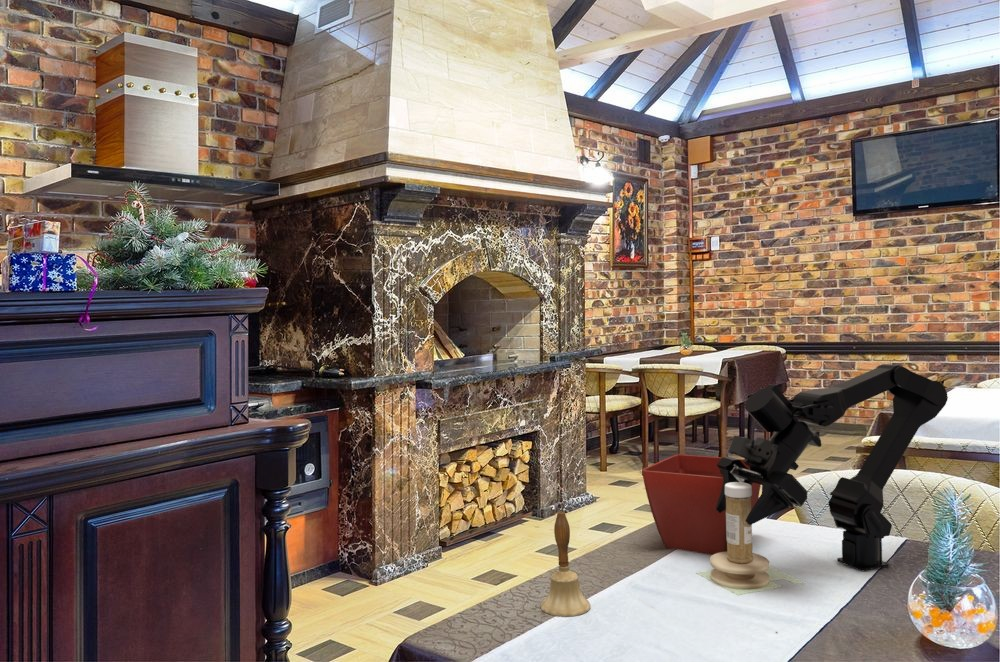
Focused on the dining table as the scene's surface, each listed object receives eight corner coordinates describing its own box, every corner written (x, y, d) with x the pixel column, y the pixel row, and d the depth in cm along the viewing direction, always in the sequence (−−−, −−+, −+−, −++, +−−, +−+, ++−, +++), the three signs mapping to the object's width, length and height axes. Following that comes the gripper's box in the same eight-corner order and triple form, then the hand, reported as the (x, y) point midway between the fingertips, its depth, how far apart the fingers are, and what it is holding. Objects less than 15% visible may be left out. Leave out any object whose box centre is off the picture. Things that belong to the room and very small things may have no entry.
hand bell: (557, 621, 125) (554, 521, 124) (531, 604, 132) (528, 510, 132) (600, 610, 129) (597, 513, 128) (573, 594, 136) (570, 503, 136)
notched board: (759, 567, 147) (759, 561, 147) (805, 587, 136) (805, 582, 136) (695, 578, 142) (695, 572, 142) (738, 601, 131) (738, 595, 131)
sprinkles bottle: (757, 563, 136) (756, 486, 136) (732, 565, 136) (730, 487, 135) (746, 555, 141) (745, 480, 140) (722, 556, 140) (720, 481, 140)
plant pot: (641, 552, 157) (639, 468, 157) (678, 529, 173) (677, 453, 172) (735, 568, 146) (734, 478, 146) (766, 542, 162) (765, 460, 161)
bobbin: (744, 566, 145) (744, 548, 144) (782, 583, 135) (782, 564, 135) (699, 574, 141) (698, 555, 141) (734, 593, 132) (733, 573, 132)
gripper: (724, 413, 147) (674, 477, 144) (792, 426, 130) (736, 499, 126) (760, 451, 150) (711, 515, 147) (831, 469, 132) (777, 542, 129)
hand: (732, 517), depth 137 cm, fingers open, 8 cm apart
